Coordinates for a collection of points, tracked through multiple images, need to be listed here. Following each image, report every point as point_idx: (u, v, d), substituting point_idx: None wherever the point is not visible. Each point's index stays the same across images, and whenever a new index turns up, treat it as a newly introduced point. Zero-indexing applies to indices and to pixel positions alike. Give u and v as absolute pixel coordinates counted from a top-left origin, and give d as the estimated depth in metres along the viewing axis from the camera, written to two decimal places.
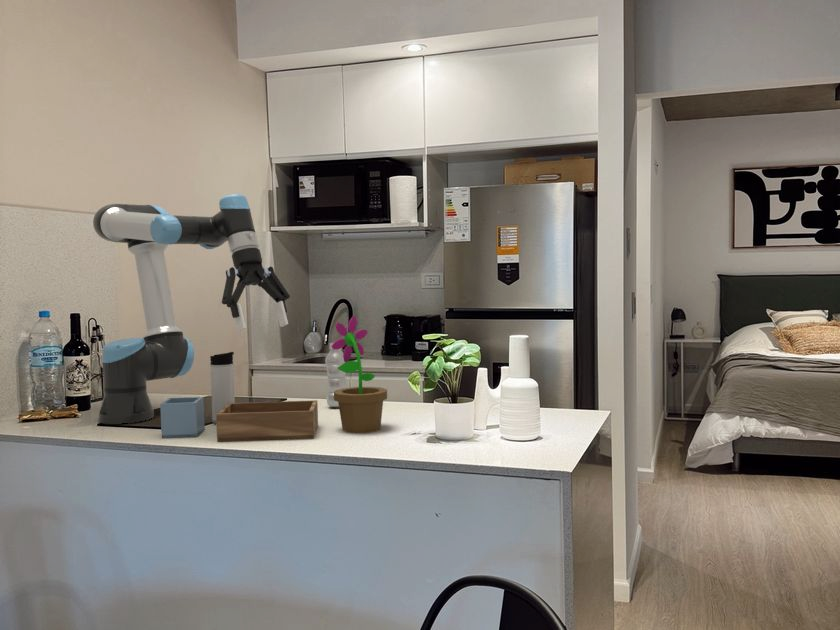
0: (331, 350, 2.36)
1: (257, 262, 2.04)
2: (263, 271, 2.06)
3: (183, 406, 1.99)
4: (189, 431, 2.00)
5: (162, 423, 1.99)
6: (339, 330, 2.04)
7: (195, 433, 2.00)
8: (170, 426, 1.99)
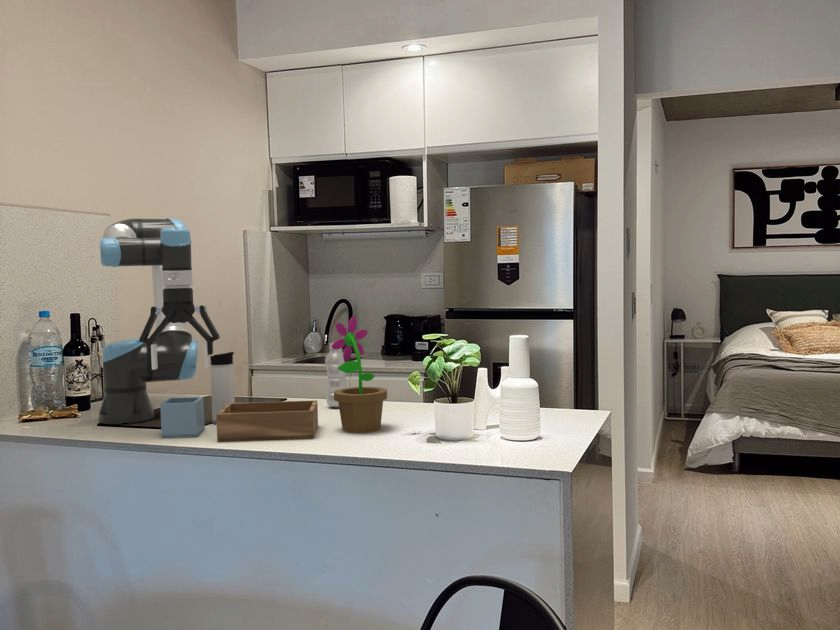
0: (331, 350, 2.36)
1: None
2: (191, 310, 2.01)
3: (183, 406, 1.99)
4: (189, 431, 2.00)
5: (162, 423, 1.99)
6: (339, 330, 2.04)
7: (195, 433, 2.00)
8: (170, 426, 1.99)
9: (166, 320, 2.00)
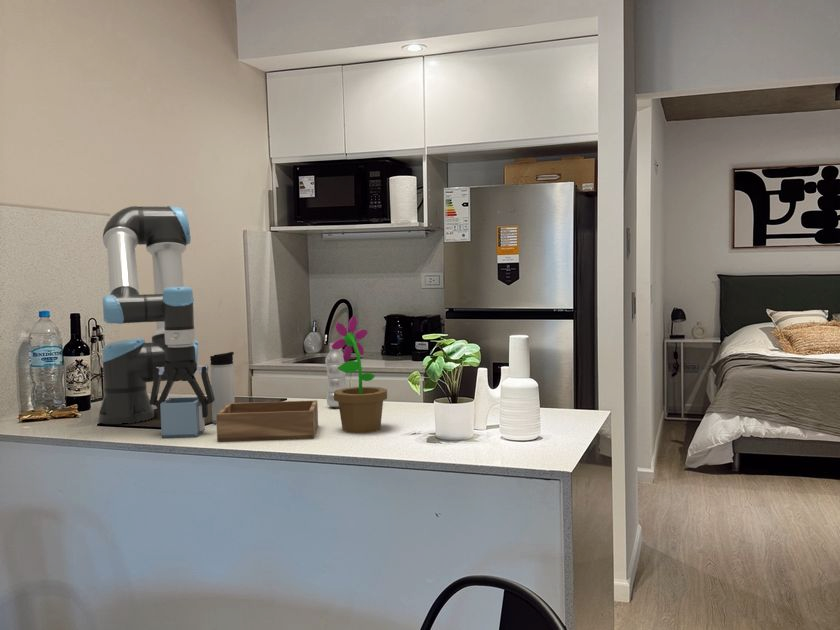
0: (331, 350, 2.36)
1: (184, 361, 2.01)
2: (193, 368, 2.02)
3: (183, 406, 1.99)
4: (189, 431, 2.00)
5: (162, 423, 1.99)
6: (339, 330, 2.04)
7: (195, 433, 2.00)
8: (170, 426, 1.99)
9: (170, 379, 2.01)
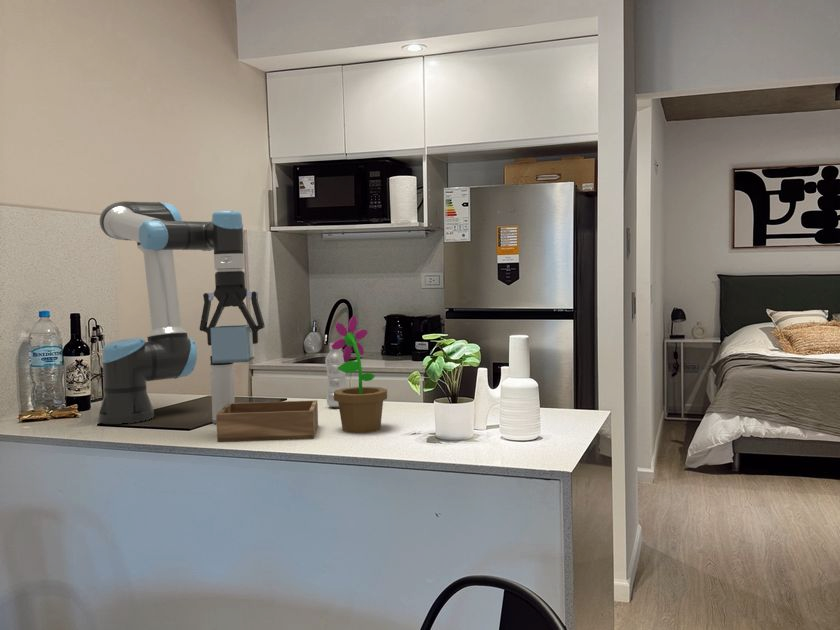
0: (331, 350, 2.36)
1: (234, 285, 1.98)
2: (243, 294, 1.99)
3: (233, 330, 1.96)
4: (240, 356, 1.96)
5: (212, 348, 1.96)
6: (339, 330, 2.04)
7: (246, 358, 1.97)
8: (220, 351, 1.96)
9: (220, 305, 1.99)
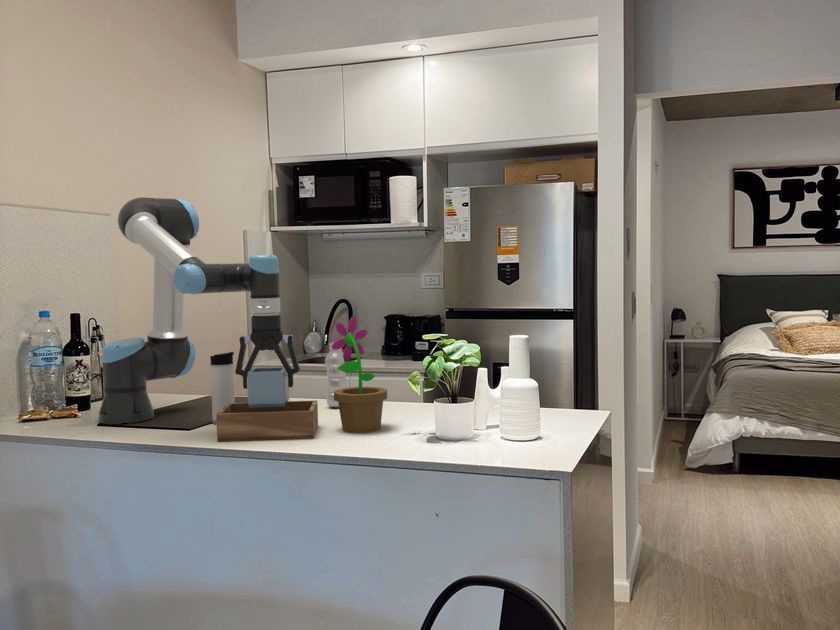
0: (331, 350, 2.36)
1: (271, 329, 1.99)
2: (279, 338, 2.00)
3: (270, 375, 1.97)
4: (276, 400, 1.97)
5: (249, 392, 1.97)
6: (339, 330, 2.04)
7: (282, 402, 1.97)
8: (257, 395, 1.97)
9: (257, 349, 1.99)
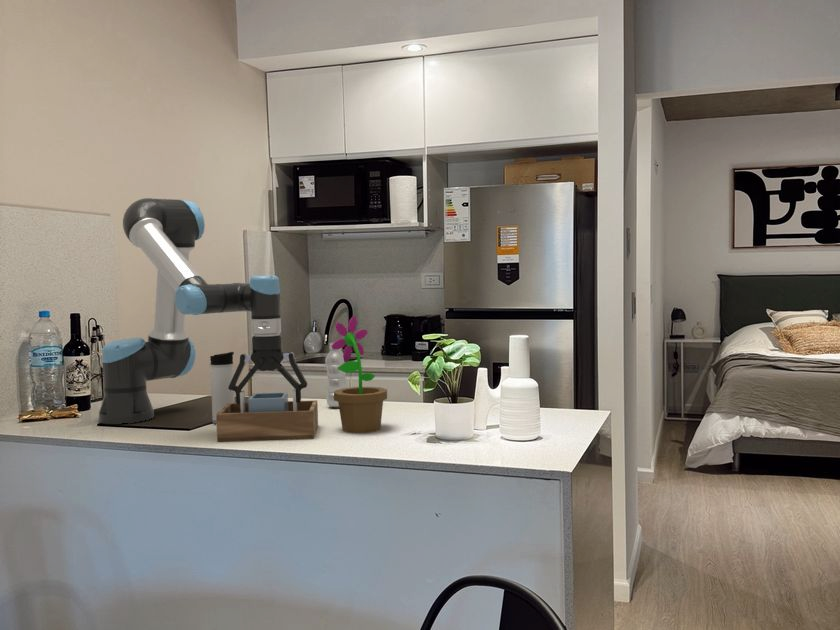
0: (331, 350, 2.36)
1: None
2: (280, 358, 2.00)
3: (271, 401, 1.97)
4: None
5: None
6: (339, 330, 2.04)
7: None
8: None
9: (255, 368, 1.99)
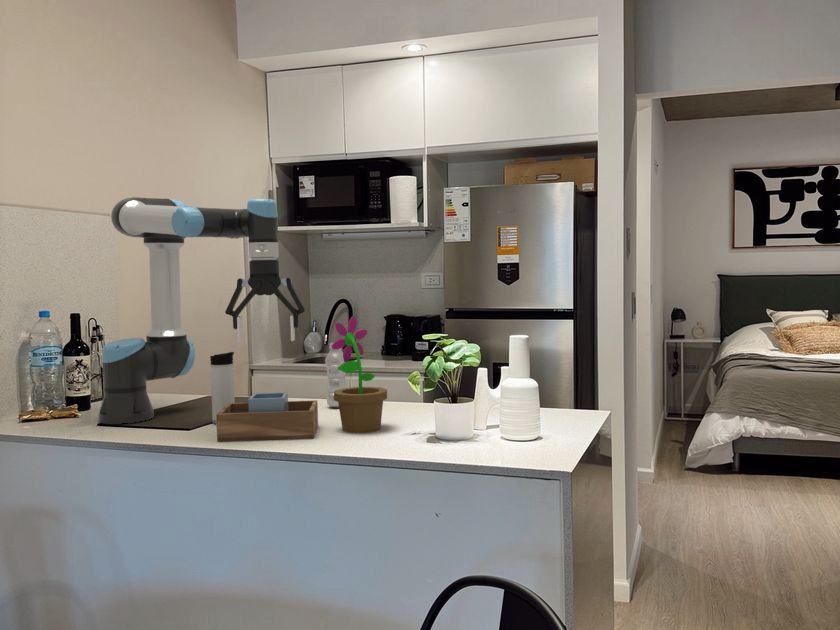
0: (331, 350, 2.36)
1: (269, 274, 1.98)
2: (277, 282, 1.99)
3: (271, 401, 1.97)
4: None
5: None
6: (339, 330, 2.04)
7: None
8: None
9: (253, 292, 1.98)
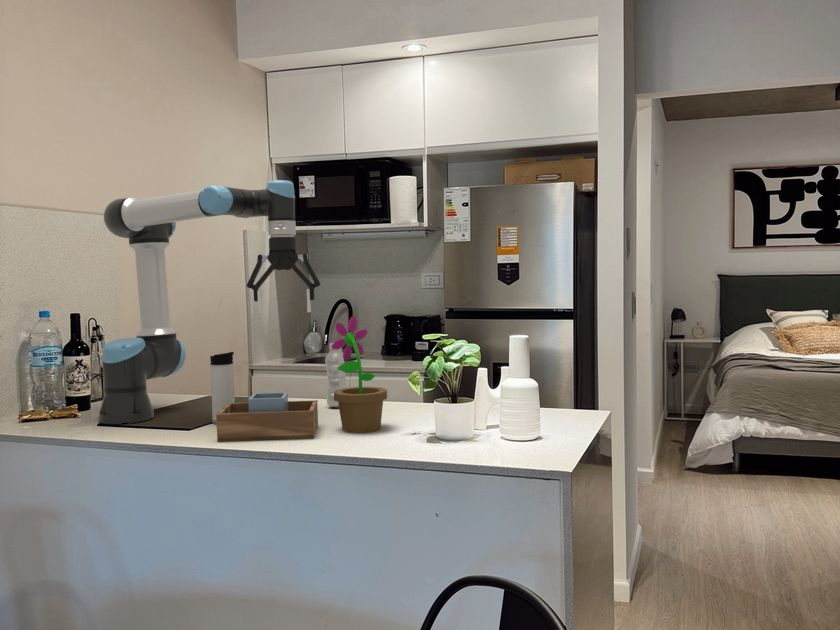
0: (331, 350, 2.36)
1: (287, 250, 2.13)
2: (295, 258, 2.15)
3: (271, 401, 1.97)
4: None
5: None
6: (339, 330, 2.04)
7: None
8: None
9: (272, 267, 2.14)
